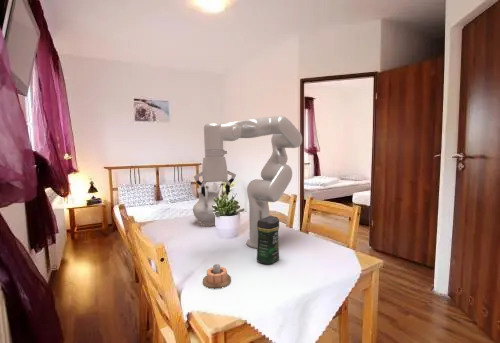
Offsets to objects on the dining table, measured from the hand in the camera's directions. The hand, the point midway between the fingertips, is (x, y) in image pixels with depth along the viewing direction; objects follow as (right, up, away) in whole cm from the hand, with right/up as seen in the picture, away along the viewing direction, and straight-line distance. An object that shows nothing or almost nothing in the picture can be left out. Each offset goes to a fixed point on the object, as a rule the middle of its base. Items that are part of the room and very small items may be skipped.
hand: (215, 195), depth 118 cm
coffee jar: (+22, -28, +1) cm, 35 cm away
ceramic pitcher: (-10, -22, +53) cm, 59 cm away
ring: (+2, -29, -16) cm, 33 cm away
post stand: (+2, -30, -16) cm, 34 cm away
